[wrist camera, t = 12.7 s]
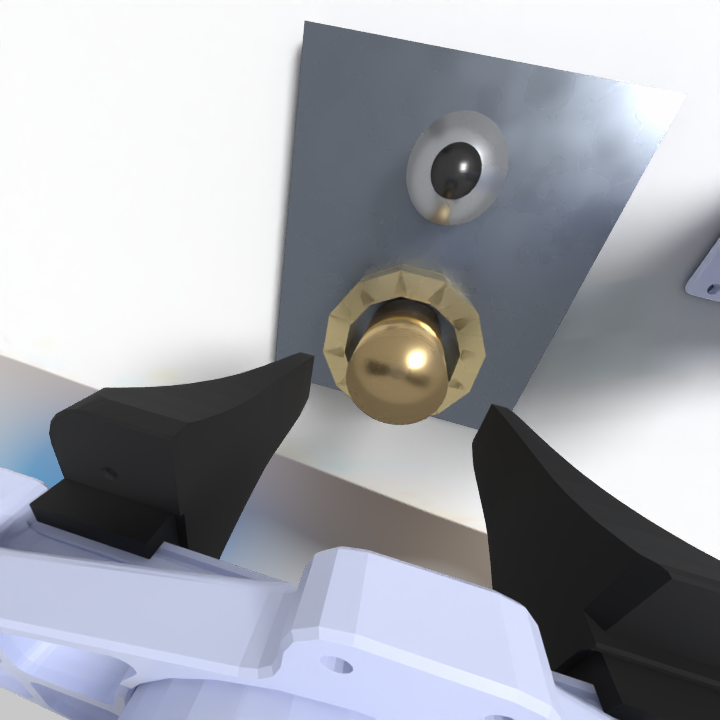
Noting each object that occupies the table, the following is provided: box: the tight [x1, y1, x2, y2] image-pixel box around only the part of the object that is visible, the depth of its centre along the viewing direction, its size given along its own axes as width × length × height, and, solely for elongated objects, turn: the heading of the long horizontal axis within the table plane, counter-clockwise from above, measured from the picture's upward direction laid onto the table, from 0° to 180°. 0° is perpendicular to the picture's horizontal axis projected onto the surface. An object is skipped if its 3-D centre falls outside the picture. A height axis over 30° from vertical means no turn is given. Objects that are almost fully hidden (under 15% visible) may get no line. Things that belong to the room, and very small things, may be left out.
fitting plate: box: [275, 21, 687, 430], centre depth 16 cm, size 16×18×4 cm
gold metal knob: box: [346, 300, 448, 425], centre depth 15 cm, size 4×4×6 cm
